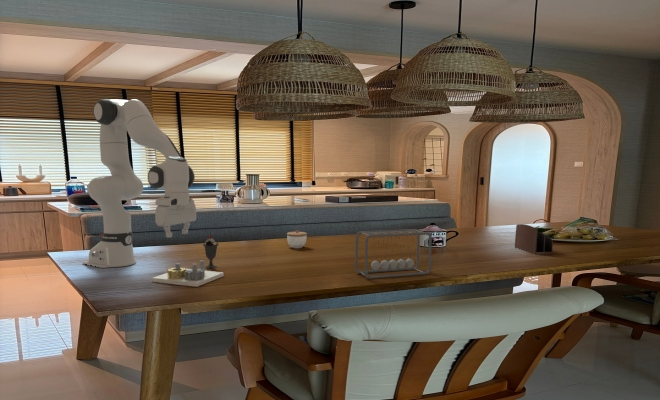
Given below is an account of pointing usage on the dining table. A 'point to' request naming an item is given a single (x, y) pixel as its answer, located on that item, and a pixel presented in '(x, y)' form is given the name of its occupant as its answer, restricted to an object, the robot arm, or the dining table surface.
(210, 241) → the sundae
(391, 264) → the newton's cradle
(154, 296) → the dining table surface
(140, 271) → the dining table surface
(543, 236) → the letter holder
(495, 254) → the dining table surface
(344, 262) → the dining table surface
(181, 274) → the gear
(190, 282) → the gear board
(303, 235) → the lidded jar
